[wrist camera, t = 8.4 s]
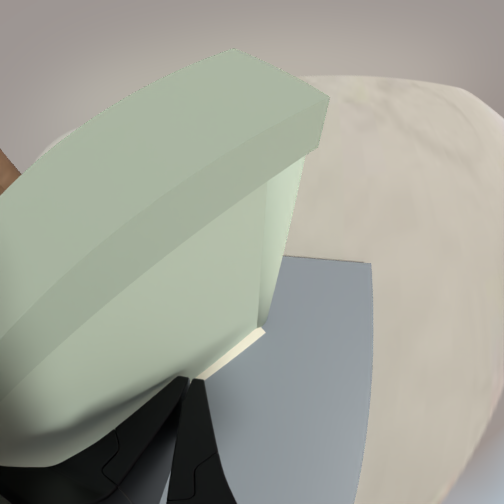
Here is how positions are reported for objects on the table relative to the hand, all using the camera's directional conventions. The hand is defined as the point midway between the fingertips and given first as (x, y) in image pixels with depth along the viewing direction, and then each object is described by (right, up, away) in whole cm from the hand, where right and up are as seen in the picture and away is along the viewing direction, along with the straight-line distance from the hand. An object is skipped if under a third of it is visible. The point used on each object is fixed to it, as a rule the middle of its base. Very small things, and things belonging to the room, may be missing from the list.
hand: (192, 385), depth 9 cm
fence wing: (-4, -4, +4) cm, 7 cm away
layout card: (-3, -6, +4) cm, 7 cm away
